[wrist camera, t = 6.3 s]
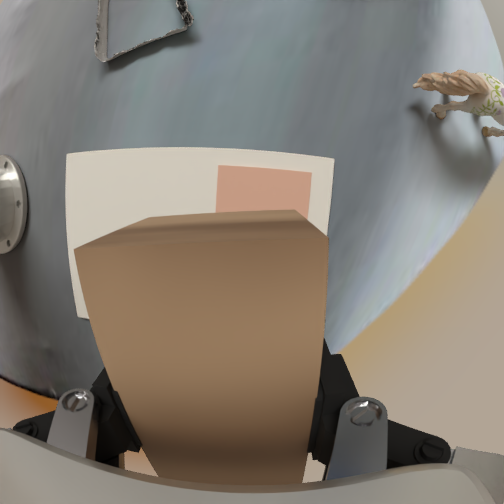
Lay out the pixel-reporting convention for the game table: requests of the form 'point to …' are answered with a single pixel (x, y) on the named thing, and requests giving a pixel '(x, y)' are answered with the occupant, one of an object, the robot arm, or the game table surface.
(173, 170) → the rubber mat
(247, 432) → the walnut block
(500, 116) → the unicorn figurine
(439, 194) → the game table surface
